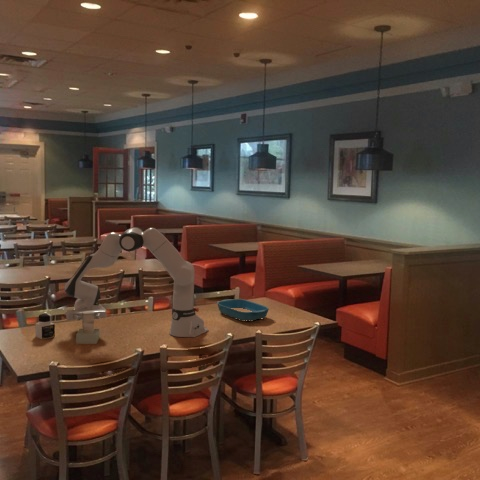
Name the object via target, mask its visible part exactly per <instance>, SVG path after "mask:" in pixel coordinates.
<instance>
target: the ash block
mask: <svg viewBox="0 0 480 480" xmlns="http://www.w3.org/2000/svg"><path fill="white" fill-rule="evenodd" d="M94 320H95V318H94V313H93V311H84V312H82V321H81V322H82V329H83V333H94V329H95V321H94Z"/></svg>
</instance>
